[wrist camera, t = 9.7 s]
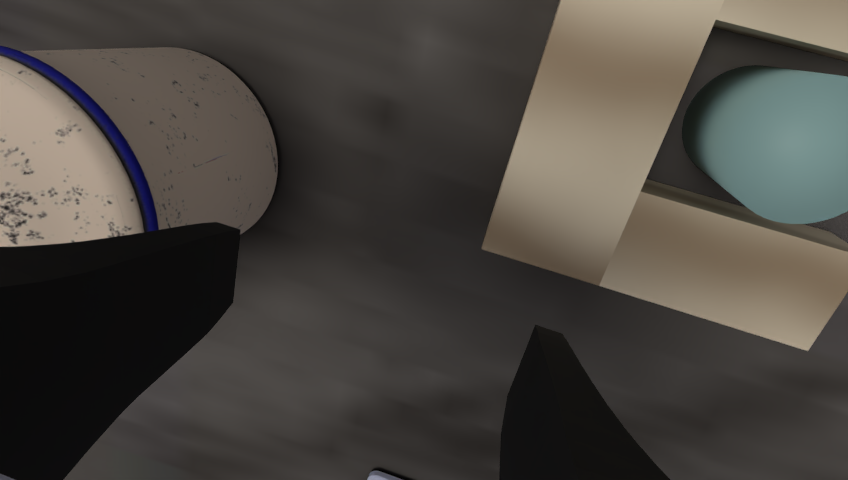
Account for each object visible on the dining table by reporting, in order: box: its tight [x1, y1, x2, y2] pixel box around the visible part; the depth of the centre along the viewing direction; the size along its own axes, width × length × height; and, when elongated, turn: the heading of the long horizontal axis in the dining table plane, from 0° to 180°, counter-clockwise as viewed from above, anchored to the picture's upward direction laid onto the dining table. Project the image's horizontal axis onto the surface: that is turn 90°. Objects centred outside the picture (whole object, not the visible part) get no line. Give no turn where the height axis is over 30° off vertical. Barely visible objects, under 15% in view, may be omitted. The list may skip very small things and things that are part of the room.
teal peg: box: [682, 65, 848, 224], centre depth 16 cm, size 4×4×5 cm
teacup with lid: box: [0, 46, 278, 247], centre depth 19 cm, size 12×9×12 cm
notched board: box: [481, 0, 848, 351], centre depth 17 cm, size 13×12×2 cm
